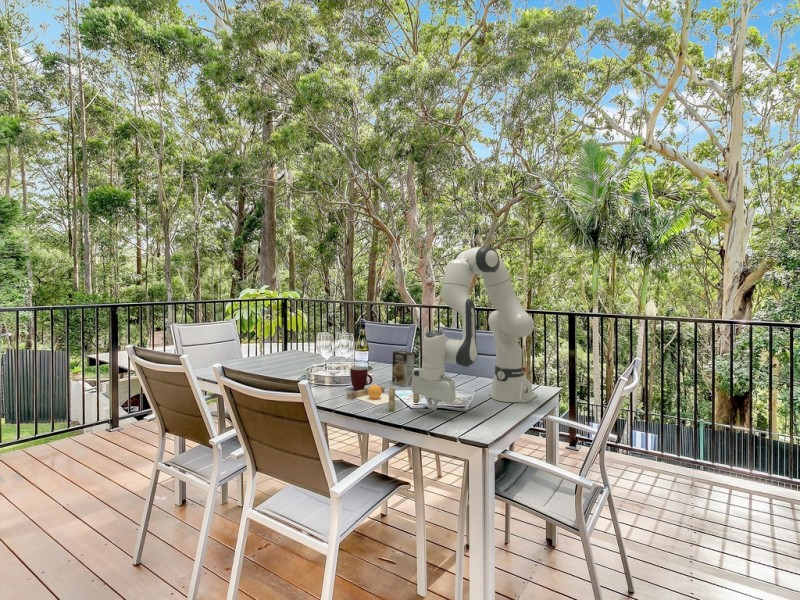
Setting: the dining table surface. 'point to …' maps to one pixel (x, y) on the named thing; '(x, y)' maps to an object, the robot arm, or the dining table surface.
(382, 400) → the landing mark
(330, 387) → the dining table surface
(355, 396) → the stopper wall
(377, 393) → the ball
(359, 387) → the mug
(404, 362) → the coffee box
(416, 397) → the post
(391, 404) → the post
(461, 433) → the dining table surface
